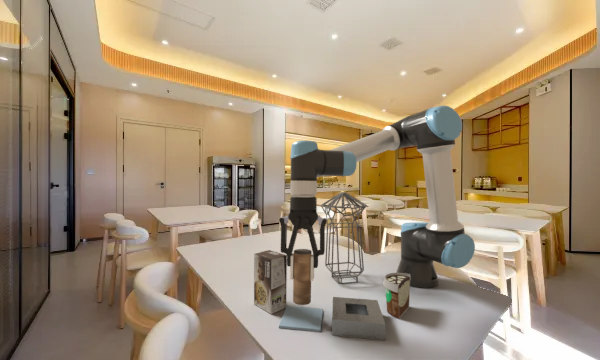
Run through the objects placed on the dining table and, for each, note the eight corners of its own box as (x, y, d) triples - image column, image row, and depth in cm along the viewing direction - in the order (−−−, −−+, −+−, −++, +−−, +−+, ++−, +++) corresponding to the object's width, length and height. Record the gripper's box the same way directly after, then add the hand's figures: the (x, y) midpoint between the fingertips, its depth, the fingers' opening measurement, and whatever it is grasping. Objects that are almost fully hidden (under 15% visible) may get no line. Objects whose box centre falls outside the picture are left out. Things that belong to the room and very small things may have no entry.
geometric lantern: (331, 288, 94) (330, 192, 95) (320, 274, 109) (319, 192, 110) (371, 285, 97) (370, 192, 98) (355, 271, 112) (353, 191, 113)
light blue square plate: (322, 310, 77) (322, 308, 77) (320, 331, 66) (320, 329, 66) (286, 307, 79) (286, 305, 79) (278, 327, 68) (278, 325, 68)
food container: (391, 299, 85) (391, 269, 85) (410, 305, 81) (410, 273, 81) (376, 314, 76) (376, 280, 76) (397, 321, 72) (397, 285, 72)
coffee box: (287, 307, 79) (287, 255, 79) (270, 314, 75) (271, 259, 75) (269, 297, 86) (269, 249, 86) (252, 304, 81) (253, 252, 81)
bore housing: (377, 313, 76) (377, 300, 76) (385, 340, 63) (385, 324, 63) (332, 310, 78) (333, 296, 78) (331, 335, 65) (332, 319, 65)
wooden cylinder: (311, 297, 75) (312, 249, 75) (309, 305, 70) (310, 254, 70) (294, 296, 75) (295, 248, 76) (291, 304, 70) (292, 253, 71)
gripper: (335, 196, 75) (334, 275, 75) (275, 194, 78) (274, 271, 78) (335, 197, 68) (334, 285, 68) (269, 196, 70) (267, 281, 70)
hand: (302, 278), depth 73 cm, fingers closed on wooden cylinder, 5 cm apart
